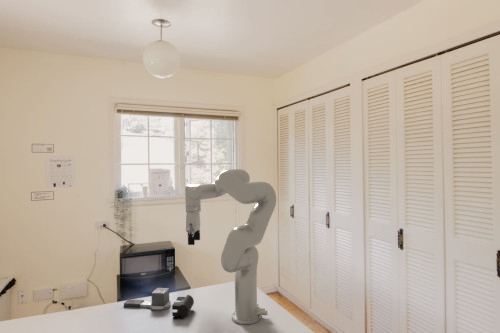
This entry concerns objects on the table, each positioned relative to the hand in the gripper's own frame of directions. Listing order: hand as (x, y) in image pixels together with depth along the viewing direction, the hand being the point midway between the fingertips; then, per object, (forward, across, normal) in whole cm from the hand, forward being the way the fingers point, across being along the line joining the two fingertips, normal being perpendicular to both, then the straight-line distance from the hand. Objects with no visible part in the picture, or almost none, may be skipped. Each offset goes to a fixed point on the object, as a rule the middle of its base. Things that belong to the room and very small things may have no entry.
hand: (194, 242), depth 152 cm
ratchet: (+27, +12, -20) cm, 36 cm away
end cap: (+28, +18, 0) cm, 33 cm away
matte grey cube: (+26, +12, -14) cm, 31 cm away
